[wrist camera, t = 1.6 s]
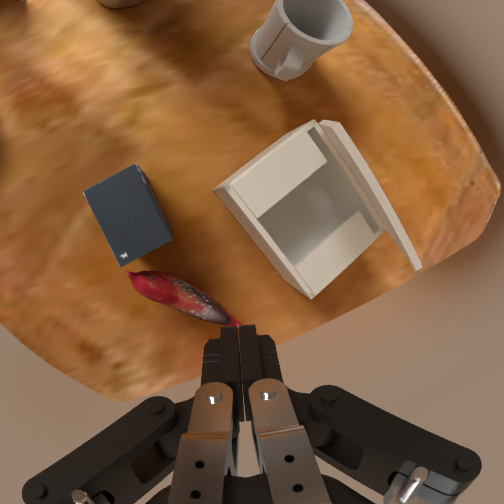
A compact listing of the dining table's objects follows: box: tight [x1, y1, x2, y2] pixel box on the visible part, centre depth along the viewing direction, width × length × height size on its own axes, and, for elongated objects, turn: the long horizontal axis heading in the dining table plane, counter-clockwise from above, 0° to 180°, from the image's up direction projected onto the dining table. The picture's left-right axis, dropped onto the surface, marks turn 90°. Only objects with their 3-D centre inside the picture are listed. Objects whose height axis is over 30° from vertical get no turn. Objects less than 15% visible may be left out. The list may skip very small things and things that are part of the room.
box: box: [83, 163, 172, 267], centre depth 32 cm, size 8×6×11 cm
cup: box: [249, 0, 353, 81], centre depth 32 cm, size 10×9×12 cm
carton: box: [213, 119, 385, 300], centre depth 37 cm, size 12×15×9 cm
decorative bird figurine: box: [125, 271, 258, 336], centre depth 35 cm, size 3×18×10 cm, turn 57°
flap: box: [318, 120, 422, 271], centre depth 28 cm, size 1×14×10 cm, turn 38°
